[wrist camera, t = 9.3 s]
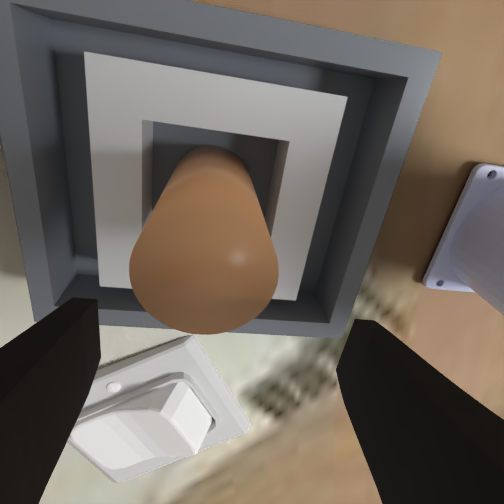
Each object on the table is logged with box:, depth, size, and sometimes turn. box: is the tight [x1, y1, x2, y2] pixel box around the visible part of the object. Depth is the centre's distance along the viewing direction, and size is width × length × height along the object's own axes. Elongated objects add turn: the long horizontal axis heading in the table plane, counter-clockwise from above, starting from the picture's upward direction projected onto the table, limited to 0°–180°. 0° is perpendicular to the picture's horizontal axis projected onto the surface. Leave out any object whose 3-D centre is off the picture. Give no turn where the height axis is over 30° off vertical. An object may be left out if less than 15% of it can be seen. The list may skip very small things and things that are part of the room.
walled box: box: [0, 0, 442, 339], centre depth 16 cm, size 16×14×4 cm
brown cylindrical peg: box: [129, 145, 279, 334], centre depth 13 cm, size 4×4×9 cm
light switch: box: [67, 335, 252, 483], centre depth 24 cm, size 11×4×13 cm
